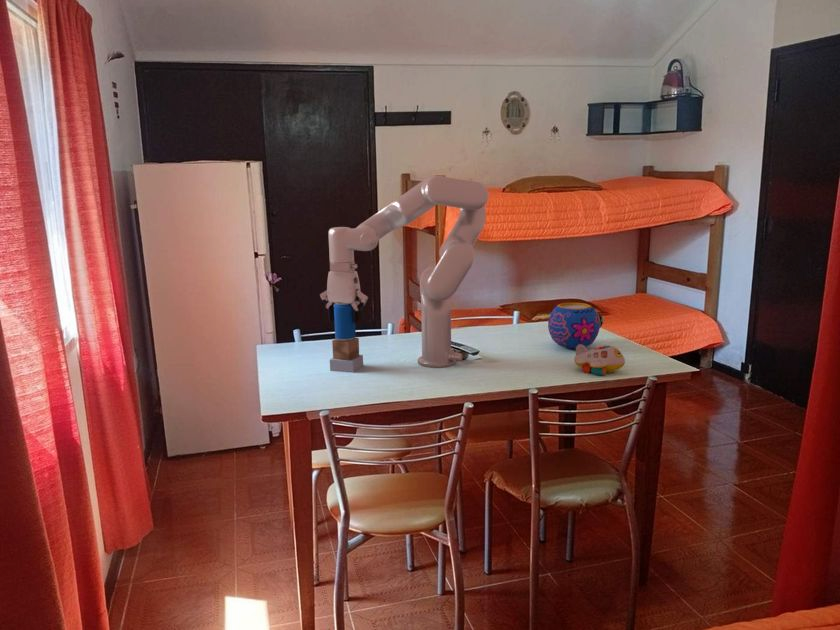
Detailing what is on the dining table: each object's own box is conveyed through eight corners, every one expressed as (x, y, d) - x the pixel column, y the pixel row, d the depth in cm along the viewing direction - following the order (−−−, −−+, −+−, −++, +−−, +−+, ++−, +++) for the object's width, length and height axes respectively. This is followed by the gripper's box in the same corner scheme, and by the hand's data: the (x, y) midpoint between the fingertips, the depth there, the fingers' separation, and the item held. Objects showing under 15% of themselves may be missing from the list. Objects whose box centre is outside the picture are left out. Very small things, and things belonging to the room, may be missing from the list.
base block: (363, 366, 217) (362, 354, 217) (353, 373, 210) (352, 361, 209) (340, 365, 220) (340, 353, 219) (330, 372, 212) (329, 359, 212)
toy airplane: (576, 339, 213) (625, 339, 208) (577, 365, 215) (626, 366, 210) (571, 350, 201) (623, 350, 196) (572, 378, 202) (624, 379, 197)
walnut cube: (359, 356, 215) (358, 337, 214) (348, 360, 210) (348, 342, 209) (343, 354, 218) (343, 336, 217) (333, 358, 213) (332, 340, 212)
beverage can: (357, 336, 216) (356, 300, 213) (353, 341, 209) (352, 304, 207) (337, 336, 216) (335, 300, 214) (333, 341, 210) (331, 304, 207)
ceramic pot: (610, 348, 233) (611, 305, 230) (574, 356, 223) (575, 312, 220) (572, 338, 247) (573, 298, 244) (537, 346, 237) (537, 304, 234)
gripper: (372, 266, 208) (374, 321, 211) (325, 264, 215) (328, 317, 219) (359, 270, 201) (361, 326, 205) (312, 267, 209) (315, 321, 212)
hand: (344, 321), depth 212 cm, fingers open, 9 cm apart
